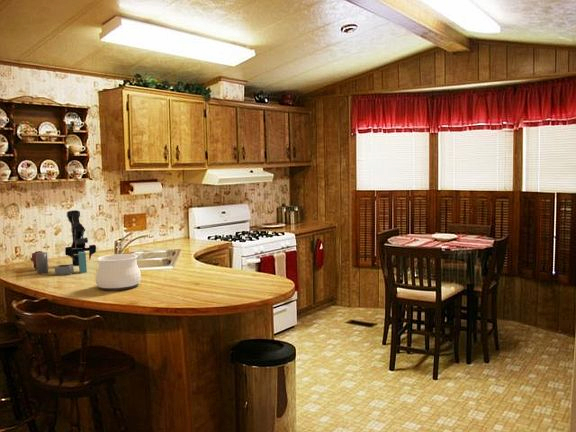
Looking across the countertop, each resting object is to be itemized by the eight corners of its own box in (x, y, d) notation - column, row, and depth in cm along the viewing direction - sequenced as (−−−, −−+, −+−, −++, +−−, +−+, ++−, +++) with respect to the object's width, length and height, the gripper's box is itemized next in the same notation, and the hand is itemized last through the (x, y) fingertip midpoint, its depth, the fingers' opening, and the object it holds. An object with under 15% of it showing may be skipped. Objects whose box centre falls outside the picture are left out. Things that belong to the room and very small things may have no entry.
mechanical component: (33, 271, 347) (29, 269, 355) (49, 269, 353) (45, 267, 361) (31, 253, 346) (28, 251, 354) (48, 251, 352) (44, 249, 360)
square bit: (79, 272, 342) (78, 252, 341) (85, 271, 344) (84, 251, 343) (80, 273, 338) (78, 253, 337) (86, 272, 340) (85, 252, 339)
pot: (128, 279, 316) (126, 250, 314) (153, 284, 300) (151, 254, 299) (84, 288, 294) (82, 257, 292) (108, 294, 279) (106, 262, 277)
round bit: (41, 271, 346) (40, 252, 345) (50, 272, 344) (49, 252, 343) (34, 273, 339) (33, 254, 338) (43, 274, 338) (42, 254, 337)
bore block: (59, 272, 342) (58, 264, 342) (73, 271, 343) (73, 264, 343) (55, 275, 333) (54, 267, 333) (69, 274, 335) (69, 266, 334)
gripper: (64, 234, 339) (67, 253, 331) (95, 232, 348) (98, 251, 339) (64, 245, 347) (66, 264, 338) (94, 243, 356) (97, 261, 347)
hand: (82, 260), depth 340 cm, fingers open, 9 cm apart
